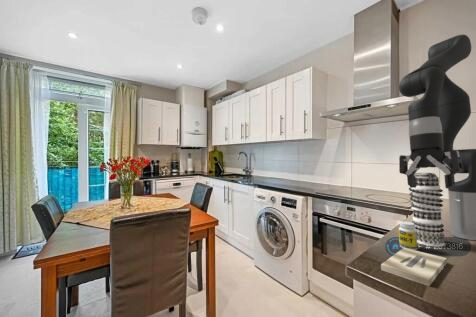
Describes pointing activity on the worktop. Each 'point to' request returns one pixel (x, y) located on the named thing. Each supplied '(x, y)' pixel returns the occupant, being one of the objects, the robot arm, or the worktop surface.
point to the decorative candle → (427, 209)
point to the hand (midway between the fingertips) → (429, 188)
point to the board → (415, 265)
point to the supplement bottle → (407, 235)
